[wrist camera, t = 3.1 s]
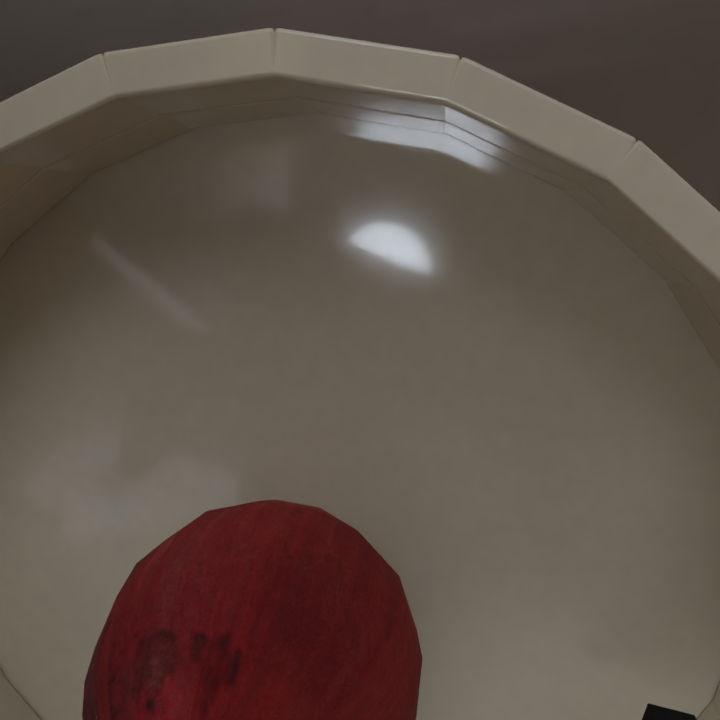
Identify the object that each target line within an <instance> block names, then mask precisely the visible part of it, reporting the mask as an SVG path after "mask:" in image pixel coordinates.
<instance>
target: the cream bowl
mask: <svg viewBox="0 0 720 720" xmlns="http://www.w3.org/2000/svg"><path fill="white" fill-rule="evenodd" d="M263 500H281V501H287V502H292V503H298V504H303V505H309V506H314V507H319V508H321V509H323V510H324V511H326V512H328V513H330V514H331V515H333V516H335V517H336V518H338V519H340V520H341V521H343V522H345V523H346V524H348V525H350V526H351V527H353V528H355V529H356V530H358V531H359V532H360V533H361V534H362V536H363V537H364V538H365V539H366V540H367V541H368V542H369V543H370V544H371V545H372V547H373V548H374V549H375V550H376V551H377V552H378V553H379V554H380V555H381V556H382V558H383V559H384V560H385V561H386V562H387V563H388V564H389V565H390V566H391V567H392V569H393V570H394V571H395V572H396V573H397V574H398V575H399V577H400V580H401V583H402V586H403V589H404V592H405V595H406V598H407V601H408V604H409V607H410V610H411V613H412V617H413V620H414V623H415V626H416V629H417V633H418V638H419V643H420V648H421V653H422V658H423V659H422V668H421V678H420V687H419V696H418V706H417V715H416V720H642V718H643V715H644V712H645V710H646V707H647V704H648V703H649V704H653V705H657V706H661V707H665V708H669V709H673V710H677V711H680V712H684V713H688V714H692V715H695V717H696V719H697V720H720V212H719V211H718V210H717V209H716V208H715V207H714V206H713V205H712V204H711V203H709V202H708V201H707V200H706V199H705V198H704V197H703V196H702V195H701V194H699V193H698V192H697V191H696V190H695V189H694V188H693V187H692V186H691V185H690V184H688V183H687V182H686V181H685V180H684V179H683V178H682V177H681V176H680V175H678V174H677V173H676V172H675V171H674V170H673V169H672V168H671V167H670V166H669V165H667V164H666V163H665V162H664V161H663V160H662V159H661V158H660V157H659V156H657V155H656V154H655V153H654V152H653V151H652V150H651V149H650V148H649V147H648V146H646V145H645V144H644V143H643V142H642V141H639V140H638V141H636V139H635V138H634V137H633V136H631V135H629V134H627V133H625V132H623V131H621V130H619V129H617V128H615V127H612V126H610V125H608V124H606V123H604V122H602V121H600V120H598V119H596V118H593V117H591V116H589V115H587V114H585V113H583V112H581V111H579V110H576V109H574V108H572V107H570V106H568V105H566V104H564V103H562V102H560V101H557V100H555V99H553V98H551V97H549V96H547V95H545V94H543V93H541V92H538V91H536V90H534V89H532V88H530V87H528V86H526V85H524V84H522V83H519V82H517V81H515V80H513V79H511V78H509V77H507V76H505V75H502V74H500V73H498V72H496V71H494V70H492V69H490V68H488V67H486V66H483V65H481V64H479V63H477V62H475V61H473V60H471V59H469V58H461V59H460V57H459V56H457V55H456V54H450V53H444V52H437V51H430V50H424V49H417V48H411V47H404V46H398V45H391V44H384V43H378V42H371V41H365V40H358V39H352V38H345V37H338V36H332V35H325V34H319V33H312V32H306V31H299V30H292V29H286V28H278V29H276V31H275V30H274V29H272V28H264V29H258V30H251V31H244V32H237V33H230V34H224V35H217V36H210V37H203V38H197V39H190V40H183V41H176V42H170V43H163V44H156V45H149V46H143V47H136V48H129V49H122V50H116V51H109V52H106V53H104V54H97V55H95V56H93V57H91V58H89V59H87V60H85V61H83V62H81V63H79V64H77V65H75V66H73V67H71V68H69V69H67V70H65V71H63V72H61V73H59V74H57V75H55V76H53V77H51V78H49V79H47V80H44V81H42V82H40V83H38V84H36V85H34V86H32V87H30V88H28V89H26V90H24V91H22V92H20V93H18V94H16V95H14V96H12V97H10V98H8V99H6V100H4V101H2V102H0V720H83V717H82V710H83V695H84V681H85V678H86V675H87V671H88V668H89V665H90V662H91V658H92V655H93V652H94V649H95V646H96V644H97V641H98V639H99V637H100V634H101V632H102V630H103V627H104V625H105V623H106V620H107V618H108V615H109V613H110V611H111V608H112V606H113V604H114V601H115V599H116V597H117V595H118V593H119V592H120V590H121V588H122V587H123V585H124V583H125V582H126V580H127V578H128V576H129V575H130V573H131V571H132V570H133V568H134V566H135V565H136V563H137V562H139V561H140V560H141V559H142V558H144V557H145V556H146V555H147V554H149V553H150V552H151V551H152V550H153V549H155V548H156V547H157V546H158V545H160V544H161V543H162V542H163V541H165V540H166V539H167V538H169V537H170V536H172V535H173V534H175V533H176V532H177V531H179V530H180V529H182V528H183V527H185V526H186V525H187V524H189V523H190V522H192V521H193V520H195V519H196V518H197V517H199V516H200V515H202V514H203V513H205V512H206V511H209V510H214V509H220V508H225V507H230V506H235V505H240V504H245V503H251V502H256V501H263Z"/></svg>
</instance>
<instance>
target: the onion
mask: <svg viewBox="0 0 720 720" xmlns="http://www.w3.org/2000/svg"><path fill="white" fill-rule="evenodd" d="M422 659H423V658H422V653H421V648H420V643H419V638H418V633H417V629H416V626H415V623H414V620H413V617H412V613H411V610H410V607H409V604H408V601H407V598H406V595H405V592H404V589H403V586H402V583H401V580H400V577H399V575H398V574H397V573H396V572H395V571H394V570H393V569H392V567H391V566H390V565H389V564H388V563H387V562H386V561H385V560H384V559H383V558H382V556H381V555H380V554H379V553H378V552H377V551H376V550H375V549H374V548H373V547H372V545H371V544H370V543H369V542H368V541H367V540H366V539H365V538H364V537H363V536H362V534H361V533H360V532H359V531H358V530H356V529H355V528H353V527H351V526H350V525H348V524H346V523H345V522H343V521H341V520H340V519H338V518H336V517H335V516H333V515H331V514H330V513H328V512H326V511H324V510H323V509H321V508H319V507H314V506H309V505H303V504H298V503H292V502H287V501H281V500H263V501H256V502H251V503H245V504H240V505H235V506H230V507H225V508H220V509H214V510H209V511H206V512H205V513H203V514H202V515H200V516H199V517H197V518H196V519H195V520H193V521H192V522H190V523H189V524H187V525H186V526H185V527H183V528H182V529H180V530H179V531H177V532H176V533H175V534H173V535H172V536H170V537H169V538H167V539H166V540H165V541H163V542H162V543H161V544H160V545H158V546H157V547H156V548H155V549H153V550H152V551H151V552H150V553H149V554H147V555H146V556H145V557H144V558H142V559H141V560H140V561H139V562H137V563H136V565H135V566H134V568H133V570H132V571H131V573H130V575H129V576H128V578H127V580H126V582H125V583H124V585H123V587H122V588H121V590H120V592H119V593H118V595H117V597H116V599H115V601H114V604H113V606H112V608H111V611H110V613H109V615H108V618H107V620H106V623H105V625H104V627H103V630H102V632H101V634H100V637H99V639H98V641H97V644H96V646H95V649H94V652H93V655H92V658H91V662H90V665H89V668H88V671H87V675H86V678H85V681H84V695H83V710H82V717H83V720H416V715H417V706H418V696H419V687H420V678H421V668H422Z"/></svg>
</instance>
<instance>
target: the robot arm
mask: <svg viewBox="0 0 720 720" xmlns="http://www.w3.org/2000/svg"><path fill="white" fill-rule="evenodd" d="M642 720H697V719H696V717H695V715H692V714H688V713H684V712H680V711H677V710H673V709H669V708H665V707H661V706H657V705H653V704H649V703H648V704H647V707H646V710H645V712H644V715H643V718H642Z"/></svg>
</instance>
